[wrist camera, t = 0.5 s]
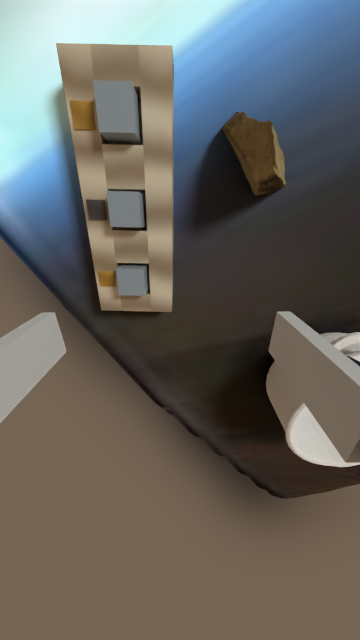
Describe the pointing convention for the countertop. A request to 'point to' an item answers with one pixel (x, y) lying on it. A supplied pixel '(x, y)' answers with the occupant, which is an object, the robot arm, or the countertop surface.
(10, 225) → the countertop surface
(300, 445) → the pot
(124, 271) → the button
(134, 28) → the countertop surface
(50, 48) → the countertop surface
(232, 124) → the rock
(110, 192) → the middle button
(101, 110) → the button
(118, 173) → the button panel
